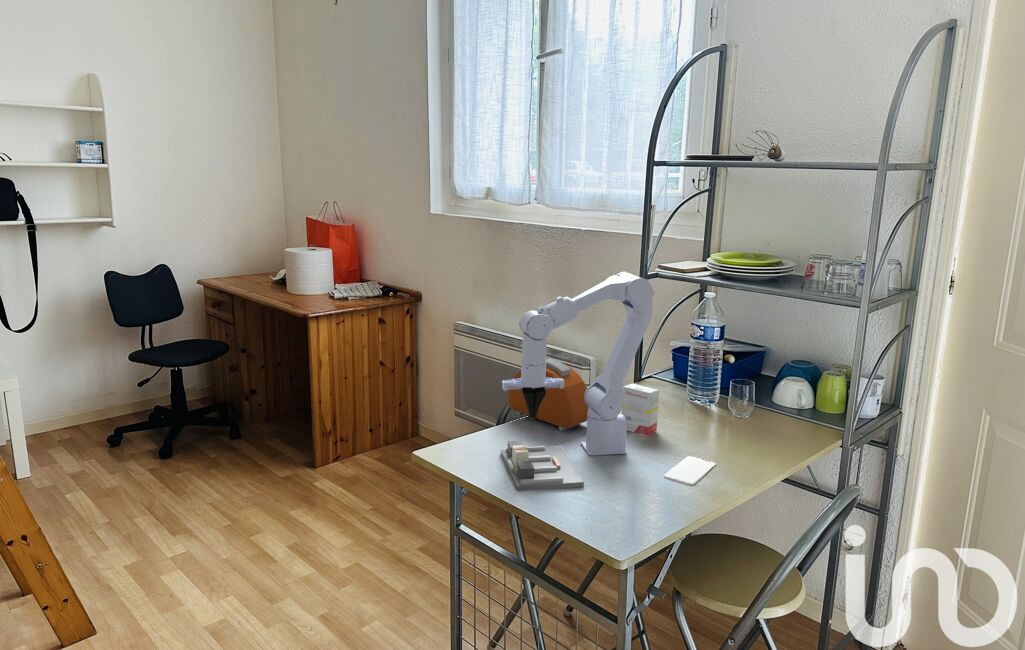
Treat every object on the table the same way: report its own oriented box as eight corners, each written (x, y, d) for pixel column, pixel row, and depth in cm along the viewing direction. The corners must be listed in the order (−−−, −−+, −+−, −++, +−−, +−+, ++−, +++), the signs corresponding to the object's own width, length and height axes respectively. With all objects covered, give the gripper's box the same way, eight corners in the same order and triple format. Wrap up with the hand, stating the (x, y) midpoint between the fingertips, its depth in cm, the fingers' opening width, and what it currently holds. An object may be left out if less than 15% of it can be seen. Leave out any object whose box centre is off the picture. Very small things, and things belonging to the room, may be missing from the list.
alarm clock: (592, 427, 202) (595, 367, 198) (570, 435, 196) (573, 373, 192) (528, 405, 218) (530, 349, 214) (506, 412, 212) (507, 354, 208)
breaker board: (561, 451, 186) (561, 435, 185) (583, 487, 167) (584, 469, 166) (500, 454, 183) (501, 438, 182) (516, 491, 164) (517, 473, 163)
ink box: (657, 431, 200) (660, 389, 197) (648, 437, 196) (651, 393, 193) (629, 423, 205) (631, 382, 202) (619, 428, 201) (622, 386, 199)
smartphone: (717, 463, 180) (693, 484, 168) (717, 466, 181) (692, 487, 169) (688, 455, 185) (662, 475, 173) (688, 458, 185) (662, 478, 173)
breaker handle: (524, 461, 176) (525, 444, 175) (528, 468, 172) (528, 451, 171) (511, 461, 175) (512, 444, 174) (515, 469, 171) (515, 451, 170)
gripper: (559, 356, 182) (557, 410, 185) (500, 358, 179) (499, 412, 182) (567, 365, 175) (565, 420, 178) (505, 367, 173) (504, 423, 176)
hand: (532, 417), depth 180 cm, fingers closed
